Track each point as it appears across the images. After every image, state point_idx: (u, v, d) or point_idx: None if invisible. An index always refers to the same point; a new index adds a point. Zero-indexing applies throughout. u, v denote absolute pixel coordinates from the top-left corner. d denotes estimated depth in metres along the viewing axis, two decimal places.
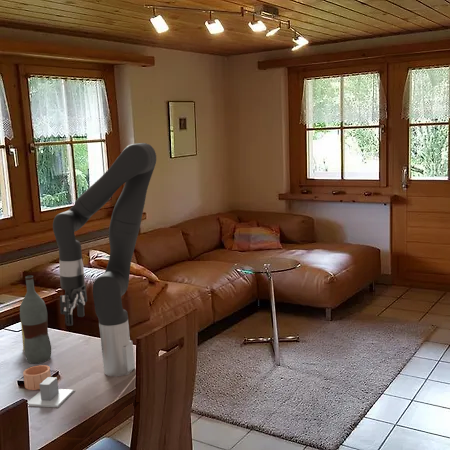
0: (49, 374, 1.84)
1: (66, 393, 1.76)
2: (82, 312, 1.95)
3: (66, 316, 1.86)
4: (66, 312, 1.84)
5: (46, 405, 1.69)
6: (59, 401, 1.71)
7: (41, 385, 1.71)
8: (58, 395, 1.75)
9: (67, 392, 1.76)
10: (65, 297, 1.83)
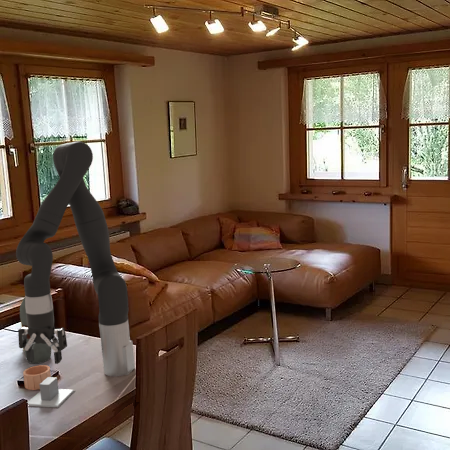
0: (49, 374, 1.84)
1: (66, 393, 1.76)
2: (33, 355, 1.74)
3: (59, 352, 1.71)
4: (66, 345, 1.71)
5: (46, 405, 1.69)
6: (59, 401, 1.71)
7: (41, 385, 1.71)
8: (58, 395, 1.75)
9: (67, 392, 1.76)
10: (63, 329, 1.70)
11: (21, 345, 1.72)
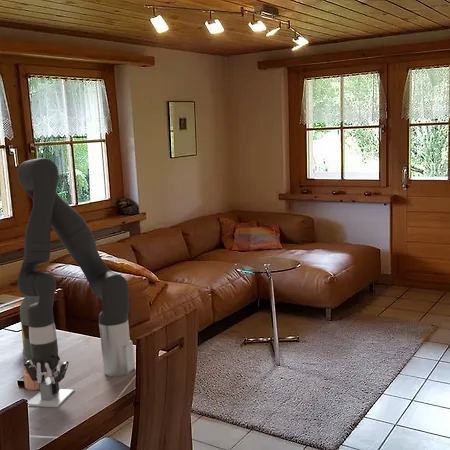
0: None
1: (66, 393, 1.76)
2: None
3: (56, 384, 1.73)
4: (63, 376, 1.73)
5: (46, 405, 1.69)
6: (59, 401, 1.71)
7: (41, 385, 1.71)
8: (57, 395, 1.75)
9: (67, 392, 1.76)
10: (67, 363, 1.72)
11: (34, 378, 1.73)
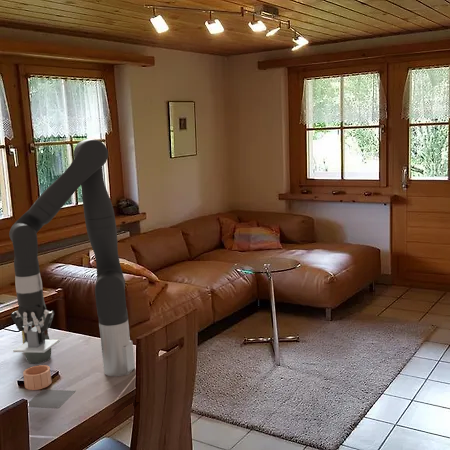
0: (49, 374, 1.84)
1: (52, 342, 1.81)
2: None
3: (42, 333, 1.78)
4: (49, 326, 1.78)
5: (33, 351, 1.75)
6: (45, 347, 1.76)
7: (28, 332, 1.77)
8: (44, 343, 1.80)
9: (53, 341, 1.82)
10: (53, 313, 1.77)
11: (20, 327, 1.78)
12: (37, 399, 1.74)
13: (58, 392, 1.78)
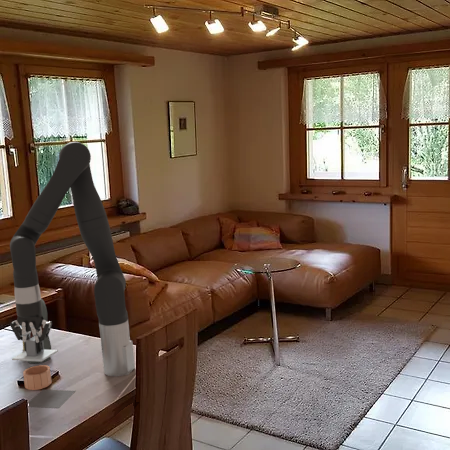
0: (49, 374, 1.84)
1: (50, 352, 1.85)
2: None
3: (40, 343, 1.82)
4: (47, 335, 1.82)
5: (31, 359, 1.79)
6: (43, 357, 1.80)
7: (27, 341, 1.81)
8: (42, 353, 1.85)
9: (51, 351, 1.86)
10: (51, 323, 1.81)
11: (19, 337, 1.82)
12: (37, 399, 1.74)
13: (58, 392, 1.78)
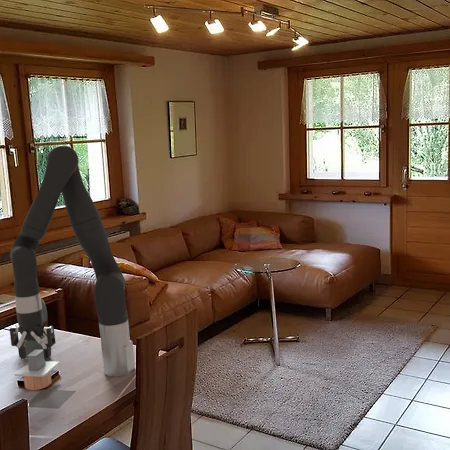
0: (49, 374, 1.84)
1: (52, 365, 1.86)
2: (25, 352, 1.85)
3: (48, 349, 1.82)
4: (54, 342, 1.82)
5: (33, 375, 1.80)
6: (46, 371, 1.81)
7: (29, 356, 1.82)
8: (44, 366, 1.85)
9: (53, 364, 1.87)
10: (52, 327, 1.81)
11: (13, 343, 1.83)
12: (37, 399, 1.74)
13: (58, 392, 1.78)
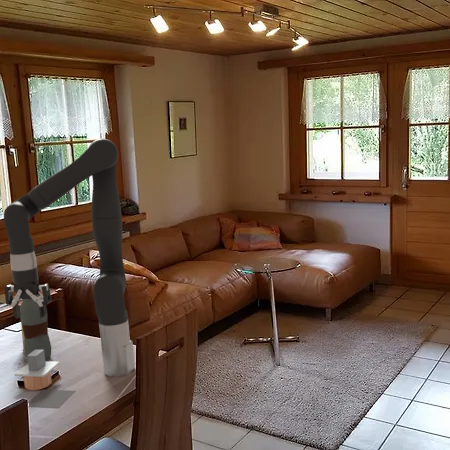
0: (49, 374, 1.84)
1: (52, 365, 1.86)
2: (19, 311, 1.84)
3: (44, 307, 1.81)
4: (50, 300, 1.82)
5: (33, 375, 1.80)
6: (46, 371, 1.81)
7: (29, 356, 1.82)
8: (44, 366, 1.85)
9: (53, 364, 1.87)
10: (47, 285, 1.81)
11: (8, 302, 1.82)
12: (37, 399, 1.74)
13: (58, 392, 1.78)
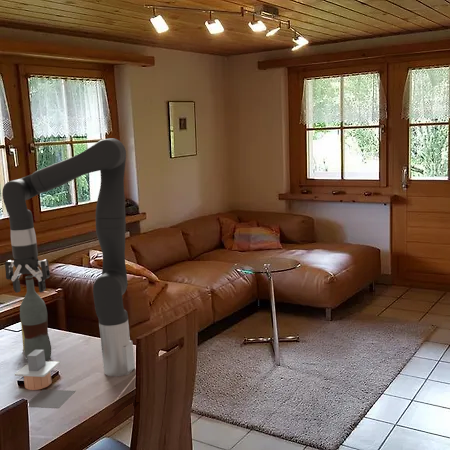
0: (49, 374, 1.84)
1: (52, 365, 1.86)
2: (19, 286, 1.90)
3: (43, 282, 1.87)
4: (49, 275, 1.87)
5: (33, 375, 1.80)
6: (46, 371, 1.81)
7: (29, 356, 1.82)
8: (44, 366, 1.85)
9: (53, 364, 1.87)
10: (46, 260, 1.86)
11: (8, 276, 1.88)
12: (37, 399, 1.74)
13: (58, 392, 1.78)
